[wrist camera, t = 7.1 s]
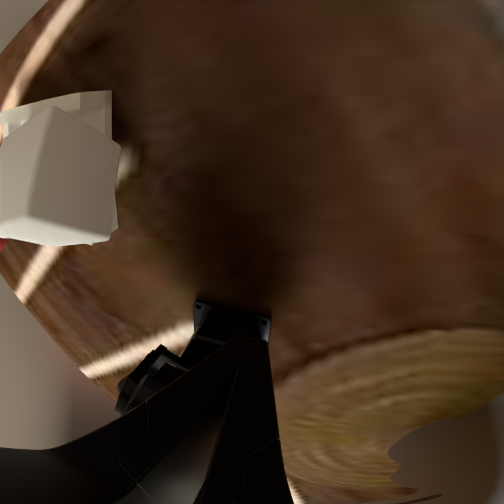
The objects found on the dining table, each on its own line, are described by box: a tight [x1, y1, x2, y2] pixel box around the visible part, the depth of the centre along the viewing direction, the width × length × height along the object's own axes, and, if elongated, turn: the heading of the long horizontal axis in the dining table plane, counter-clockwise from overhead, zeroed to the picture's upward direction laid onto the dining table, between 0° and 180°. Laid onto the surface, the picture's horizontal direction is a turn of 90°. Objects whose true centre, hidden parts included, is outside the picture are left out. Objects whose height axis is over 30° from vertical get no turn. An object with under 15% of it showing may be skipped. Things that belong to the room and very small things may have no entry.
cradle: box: [0, 90, 118, 245], centre depth 22 cm, size 11×13×4 cm
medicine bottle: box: [0, 105, 121, 247], centre depth 18 cm, size 7×7×12 cm
